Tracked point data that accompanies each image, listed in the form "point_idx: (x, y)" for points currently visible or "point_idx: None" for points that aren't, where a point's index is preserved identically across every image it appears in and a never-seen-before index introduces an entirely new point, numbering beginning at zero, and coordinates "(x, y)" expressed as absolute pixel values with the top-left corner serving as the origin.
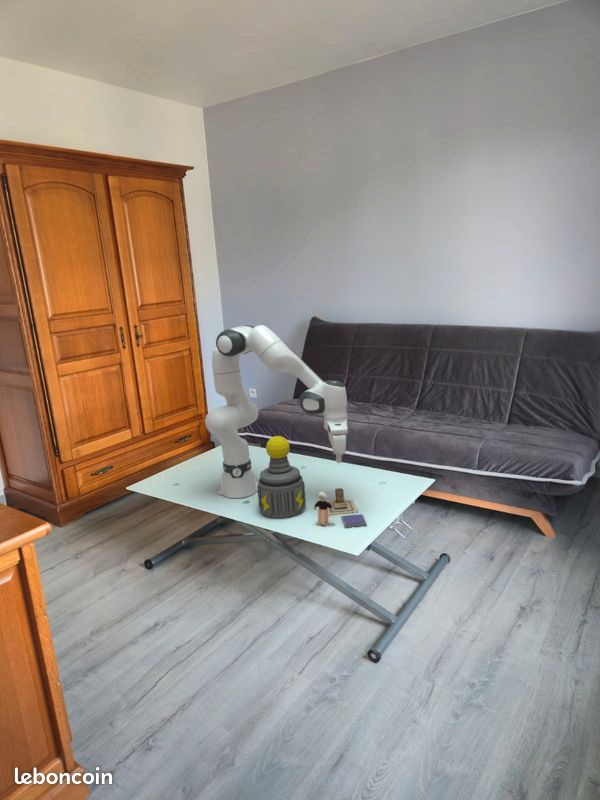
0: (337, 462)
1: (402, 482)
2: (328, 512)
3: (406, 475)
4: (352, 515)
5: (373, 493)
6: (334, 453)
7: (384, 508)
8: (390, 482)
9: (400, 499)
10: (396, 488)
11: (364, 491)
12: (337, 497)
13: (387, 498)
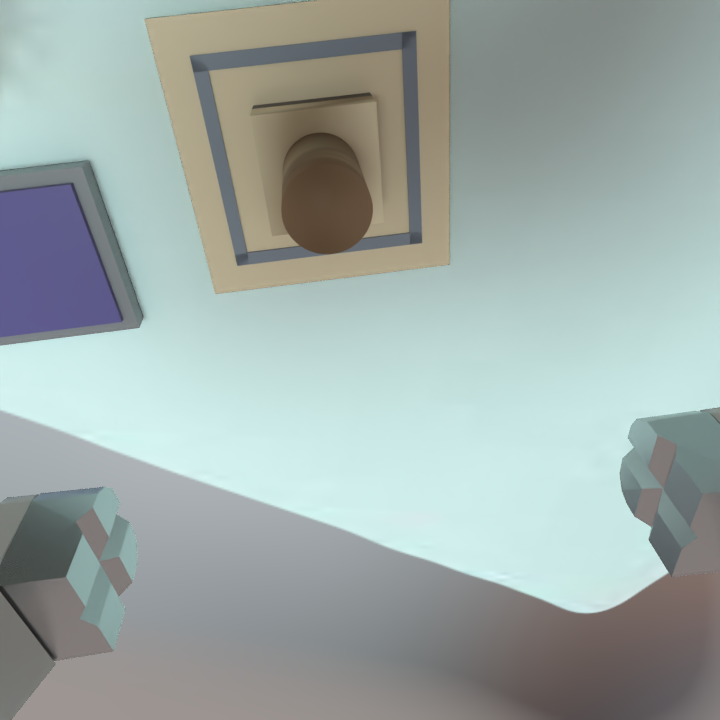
0: (6, 507)
1: (617, 529)
2: (193, 39)
3: None
4: (92, 259)
5: (518, 394)
6: (641, 449)
7: (276, 440)
8: None
9: (392, 513)
10: (548, 503)
11: (570, 344)
12: (288, 166)
13: (420, 459)
